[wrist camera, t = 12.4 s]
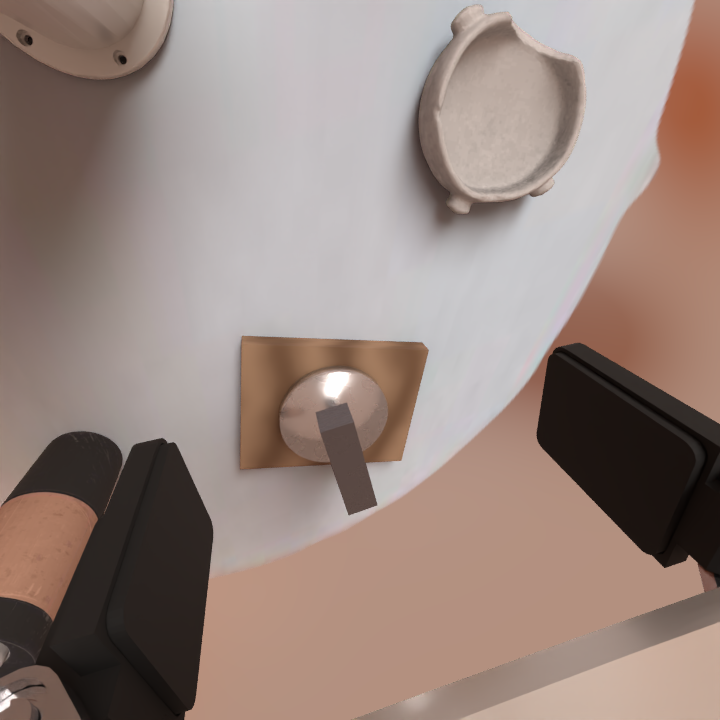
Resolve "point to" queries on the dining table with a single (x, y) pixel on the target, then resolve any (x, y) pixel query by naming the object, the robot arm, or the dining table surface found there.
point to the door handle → (336, 426)
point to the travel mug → (49, 537)
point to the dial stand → (303, 355)
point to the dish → (498, 111)
